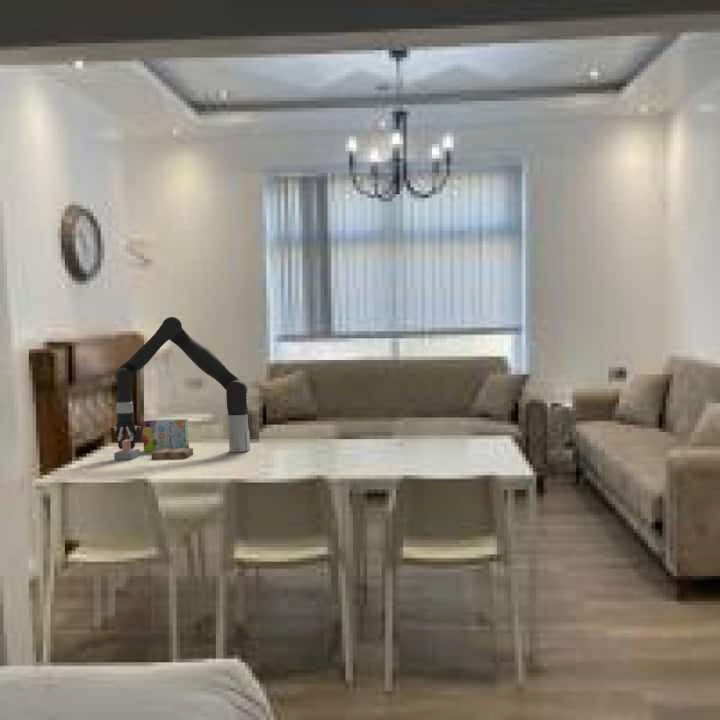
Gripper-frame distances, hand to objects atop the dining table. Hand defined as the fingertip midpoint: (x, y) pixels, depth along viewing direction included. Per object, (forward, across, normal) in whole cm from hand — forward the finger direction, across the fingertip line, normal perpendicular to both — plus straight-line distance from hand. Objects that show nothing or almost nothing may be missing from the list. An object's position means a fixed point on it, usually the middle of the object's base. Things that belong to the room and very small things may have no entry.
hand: (126, 448), depth 422 cm
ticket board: (+4, -21, 0) cm, 22 cm away
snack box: (+5, -12, -22) cm, 26 cm away
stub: (+4, 0, 0) cm, 4 cm away
